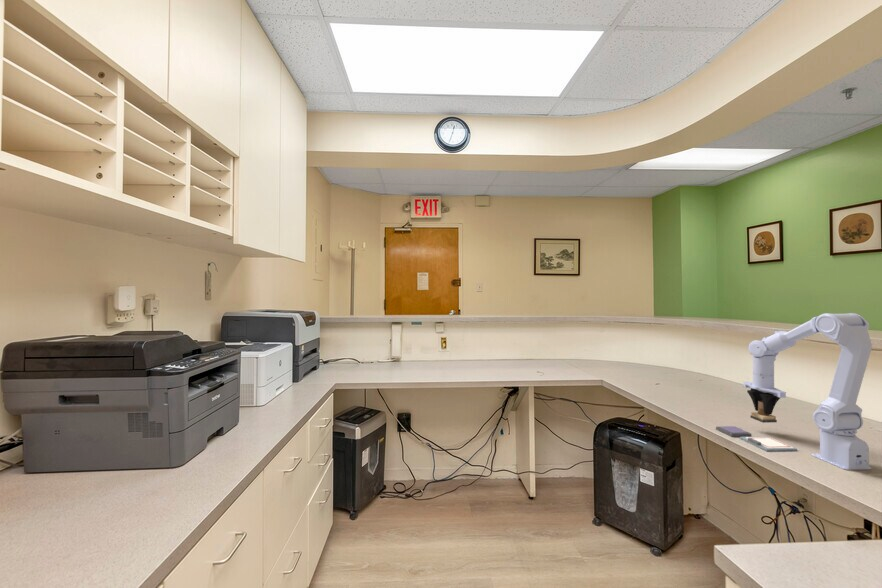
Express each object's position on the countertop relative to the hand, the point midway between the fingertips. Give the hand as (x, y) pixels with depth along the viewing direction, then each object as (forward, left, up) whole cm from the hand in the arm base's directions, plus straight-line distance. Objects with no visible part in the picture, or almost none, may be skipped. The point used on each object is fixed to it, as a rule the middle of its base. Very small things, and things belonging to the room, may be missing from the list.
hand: (763, 412), depth 131 cm
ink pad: (0, +11, -7) cm, 13 cm away
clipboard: (-10, +8, -7) cm, 15 cm away
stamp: (0, 0, -3) cm, 3 cm away
